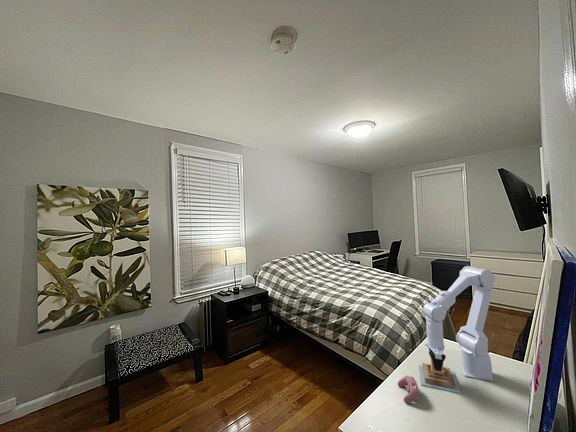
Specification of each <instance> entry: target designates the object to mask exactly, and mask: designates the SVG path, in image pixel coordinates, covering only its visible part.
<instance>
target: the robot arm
mask: <svg viewBox="0 0 576 432" xmlns="http://www.w3.org/2000/svg"><path fill="white" fill-rule="evenodd" d="M495 280H496V276H495V275H494V274H493V272H492V271H491V270H489V269H484V268H483V269H482V268H478V267H475V266H470V265H466V266H463V268H462V269H461V270H460V271H459V276H458V278H456V280H455V281H454V282H453V284H452V285H450V287H449V288H448V290H442V291H440V292H439V293H438V295H437V296H435V298H434V299H432V301H431V302H428V303H425V304H424V305H423V307H422V309H421V312H422V314H423V315H424V319H425V323H426V325H425V326H426V340H427V341H424V346H425V347H427V348H428V354H429V358H430V357H431V358H432V361H433V364H434V368H435V370H436V371H441V370H442V365H443V366H444V362H445V360H446V358H447V357H446V354H444V350H445V345H444V344H445V343H444V329H443V321H444V320H445V319H446V316H447V312H448V310H449V309H450V308H451V307H452V306H453V305H454V304H455V303H456V301H457V300H456V297H458V295H460V294H461V293H462V292H463V291H464V290H465V289H467V288H468V287H469V286H472V288H473V289H474V293H473V296H472V297H473V298H472V301H471V307H470V309H469V314H468V318H467V322H466V325H463V326H460V328H459V331H458V332H457V334H456V336H455V339H456V342H457V344H458V345H459V348H461V363H460V364H459V366H460V368H461V371H462V373H463V375H464V376H465V377H469V378H473V379H480V380H485V381H489V382H493V381H494V379H493V366H492V359H491V356H490V355H489V353H488V350H489V346H488V343H489V339H488V337H487V336H486V334H485V333H484V327H485V323H486V318H487V314H488V311H489V307H490V303H491V300H492V299H491V298H492V296H493V295H492V293H493V289H494V286H495V285H494V284H495V282H496V281H495Z"/></svg>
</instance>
